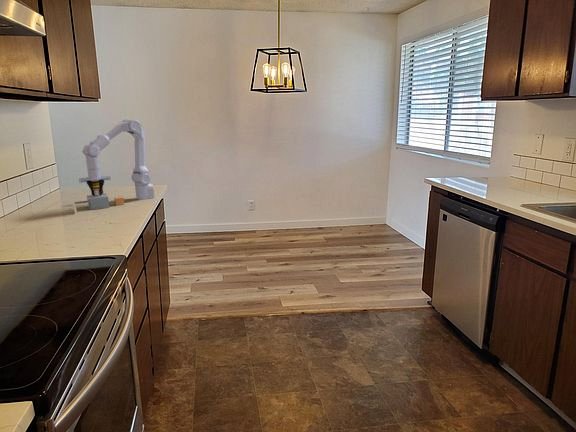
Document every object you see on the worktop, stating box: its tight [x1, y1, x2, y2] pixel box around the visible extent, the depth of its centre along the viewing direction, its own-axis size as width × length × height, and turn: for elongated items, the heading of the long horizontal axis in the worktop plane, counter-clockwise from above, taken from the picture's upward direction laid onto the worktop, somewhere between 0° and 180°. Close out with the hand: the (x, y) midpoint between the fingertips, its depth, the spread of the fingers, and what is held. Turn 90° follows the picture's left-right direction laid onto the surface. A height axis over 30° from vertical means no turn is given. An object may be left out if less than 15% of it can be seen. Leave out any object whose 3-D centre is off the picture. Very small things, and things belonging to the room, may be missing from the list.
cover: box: [86, 189, 110, 211], centre depth 222 cm, size 9×10×9 cm
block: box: [114, 195, 125, 206], centre depth 228 cm, size 4×4×4 cm
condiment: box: [90, 181, 105, 194], centre depth 239 cm, size 7×8×12 cm
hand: (97, 195), depth 222 cm, fingers closed on cover, 3 cm apart
